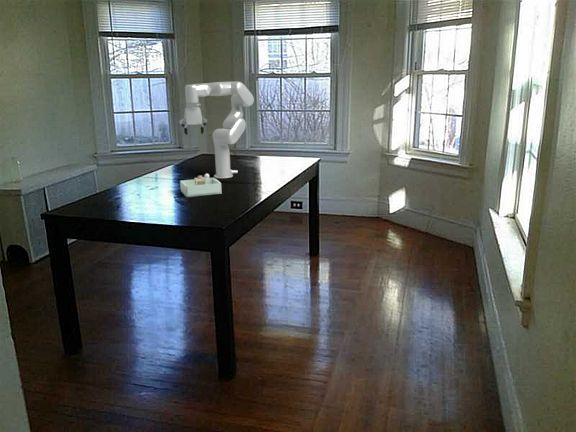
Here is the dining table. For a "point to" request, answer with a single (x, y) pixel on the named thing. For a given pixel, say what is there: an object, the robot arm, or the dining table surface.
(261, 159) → the dining table surface
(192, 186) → the bin
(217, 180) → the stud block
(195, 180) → the drawer
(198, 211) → the dining table surface
